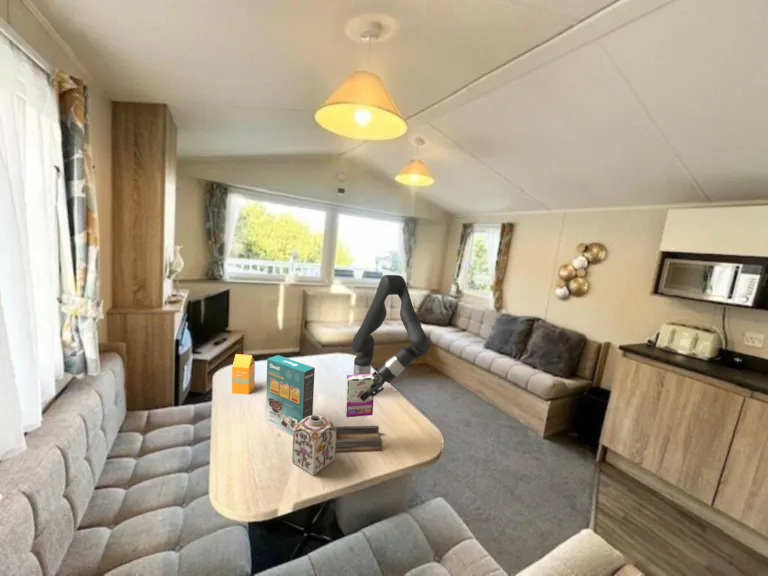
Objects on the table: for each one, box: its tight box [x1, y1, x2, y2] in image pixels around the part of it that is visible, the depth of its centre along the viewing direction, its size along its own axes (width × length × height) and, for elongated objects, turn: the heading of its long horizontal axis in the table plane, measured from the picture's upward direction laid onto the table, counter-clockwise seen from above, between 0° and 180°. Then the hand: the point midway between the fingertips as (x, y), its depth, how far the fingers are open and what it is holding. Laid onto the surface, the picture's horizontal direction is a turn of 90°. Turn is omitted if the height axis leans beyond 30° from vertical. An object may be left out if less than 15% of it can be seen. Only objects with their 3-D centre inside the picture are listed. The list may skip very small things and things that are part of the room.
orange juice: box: [231, 353, 256, 395], centre depth 177 cm, size 8×9×20 cm
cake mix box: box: [265, 354, 316, 437], centre depth 146 cm, size 22×6×30 cm, turn 59°
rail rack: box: [335, 425, 383, 453], centre depth 142 cm, size 14×20×4 cm
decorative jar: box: [291, 414, 336, 476], centre depth 127 cm, size 12×12×18 cm
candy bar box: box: [344, 373, 375, 418], centre depth 139 cm, size 11×5×16 cm, turn 105°
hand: (361, 396), depth 140 cm, fingers closed on candy bar box, 5 cm apart
